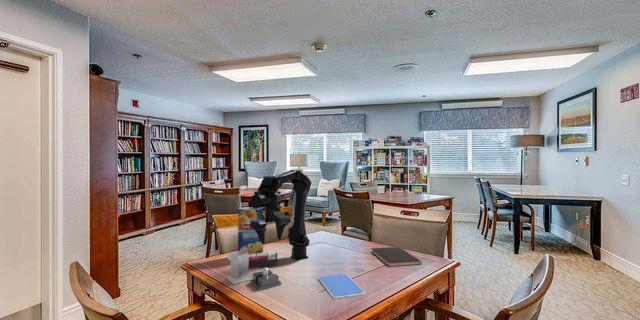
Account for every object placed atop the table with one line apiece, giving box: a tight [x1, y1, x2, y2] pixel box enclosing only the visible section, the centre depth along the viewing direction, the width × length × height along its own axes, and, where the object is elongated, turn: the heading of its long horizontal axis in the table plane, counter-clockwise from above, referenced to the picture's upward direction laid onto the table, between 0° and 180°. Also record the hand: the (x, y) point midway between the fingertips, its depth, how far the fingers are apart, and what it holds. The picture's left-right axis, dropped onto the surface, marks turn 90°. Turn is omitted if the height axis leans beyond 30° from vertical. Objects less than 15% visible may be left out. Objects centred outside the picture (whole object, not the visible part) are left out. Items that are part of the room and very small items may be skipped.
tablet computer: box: [317, 273, 366, 300], centre depth 118 cm, size 19×13×1 cm, turn 17°
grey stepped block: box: [227, 250, 250, 281], centre depth 125 cm, size 7×5×10 cm
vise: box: [249, 267, 282, 291], centre depth 121 cm, size 9×9×6 cm
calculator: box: [249, 251, 278, 269], centre depth 145 cm, size 11×4×15 cm
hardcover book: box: [370, 246, 422, 267], centre depth 153 cm, size 16×23×2 cm
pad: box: [226, 275, 253, 285], centre depth 126 cm, size 8×8×1 cm
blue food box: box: [237, 206, 264, 254], centre depth 155 cm, size 12×8×24 cm, turn 100°
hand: (271, 241), depth 134 cm, fingers open, 9 cm apart
